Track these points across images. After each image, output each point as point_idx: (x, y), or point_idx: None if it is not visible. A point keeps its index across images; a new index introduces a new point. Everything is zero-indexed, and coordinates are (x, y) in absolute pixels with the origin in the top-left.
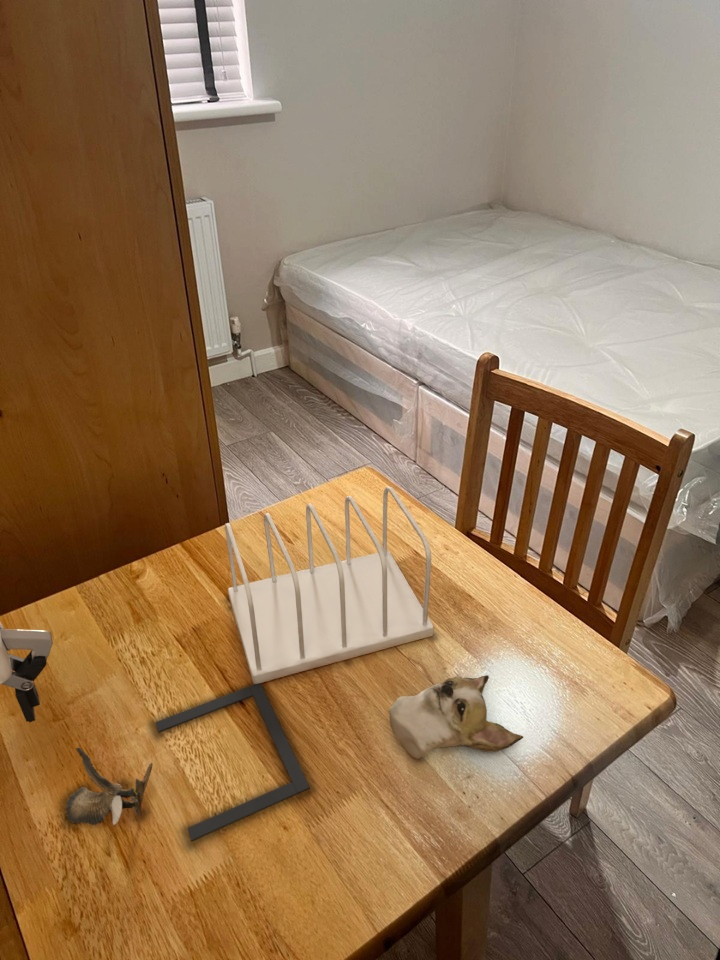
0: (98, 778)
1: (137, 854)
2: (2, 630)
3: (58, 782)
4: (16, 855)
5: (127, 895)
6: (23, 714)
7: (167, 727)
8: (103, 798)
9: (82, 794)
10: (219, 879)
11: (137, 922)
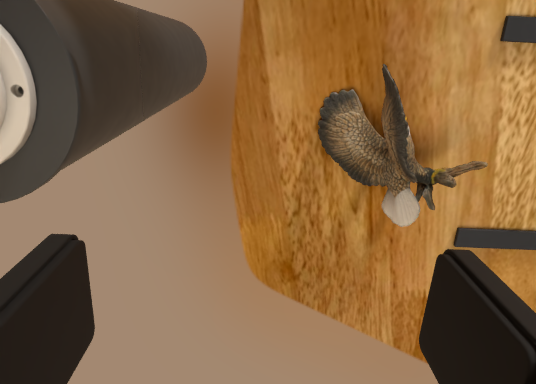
0: (402, 165)
1: (386, 228)
2: None
3: (319, 54)
4: (241, 151)
5: (358, 269)
6: (436, 376)
7: (520, 41)
8: (387, 169)
9: (353, 120)
10: None
11: (358, 300)
